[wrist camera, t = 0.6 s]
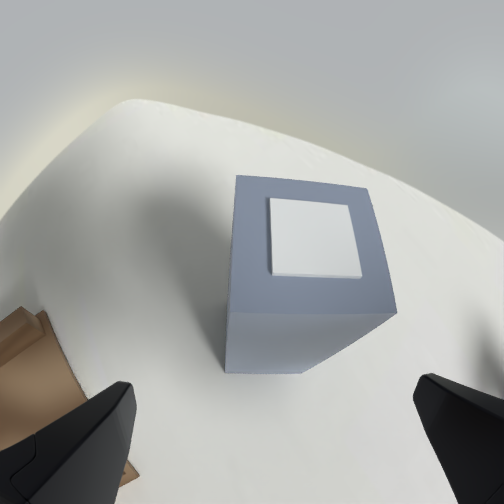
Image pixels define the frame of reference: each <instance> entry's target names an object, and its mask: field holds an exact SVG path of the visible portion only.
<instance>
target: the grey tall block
mask: <svg viewBox="0 0 504 504" xmlns="http://www.w3.org/2000/svg"><path fill="white" fill-rule="evenodd" d="M395 314H397V309H396V303H395V298H394V292H393V287H392V283H391V278H390V273H389V269H388V264H387V260H386V255H385V251H384V247H383V243H382V239H381V235H380V232H379V228H378V224H377V220H376V217H375V213H374V210H373V206H372V203H371V200H370V196H369V193H368V190H367V189H366V188H359V187H352V186H344V185H337V184H329V183H320V182H311V181H302V180H292V179H281V178H270V177H257V176H243V175H236V186H235V199H234V212H233V225H232V239H231V253H230V268H229V284H228V300H227V324H226V352H225V373H245V374H297V373H303V372H305V371H307V370H308V369H310V368H312V367H314V366H315V365H317V364H319V363H321V362H322V361H324V360H326V359H327V358H329V357H331V356H333V355H334V354H336V353H337V352H339V351H341V350H342V349H344V348H346V347H347V346H349V345H350V344H352V343H354V342H355V341H357V340H358V339H360V338H361V337H363V336H364V335H366V334H367V333H369V332H370V331H372V330H373V329H375V328H376V327H378V326H379V325H381V324H382V323H384V322H385V321H387V320H388V319H389V318H391V317H392V316H394V315H395Z"/></svg>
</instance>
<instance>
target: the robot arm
mask: <svg viewBox="0 0 504 504" xmlns="http://www.w3.org/2000/svg"><path fill="white" fill-rule="evenodd" d="M413 401H414V404H415V406H416V409H417V411H418V414H419V416H420V419H421V422H422V424H423V427H424V430H425V432H426V435H427V437H428V439H429V441H430V443H431V445H432V447H433V449H434V451H435V453H436V455H437V457H438V460H439V462H440V464H441V466H442V468H443V470H444V472H445V475H446V477H447V479H448V481H449V483H450V486H451V488H452V490H453V493H454V495H455V497H456V500H457V502H458V504H504V400H503V399H500V398H497V397H494V396H491V395H489V394H486V393H483V392H480V391H478V390H475V389H472V388H470V387H467V386H464V385H462V384H459V383H456V382H454V381H451V380H449V379H446V378H443V377H441V376H438V375H436V374H433V373H429V374H424V375H422V376H421V377H420V378H419V381H418V383H417V386H416V388H415V391H414V394H413ZM136 410H137V405H136V400H135V395H134V389H133V386H132V384H131V383H129V382H122V381H118V382H116V383H114V384H113V385H111V386H110V387H108V388H106V389H105V390H103V391H102V392H100V393H99V394H97V395H95V396H94V397H92V398H91V399H89V400H87V401H86V402H84V403H83V404H81V405H79V406H78V407H76V408H75V409H73V410H71V411H70V412H68V413H67V414H65V415H63V416H62V417H60V418H58V419H57V420H55V421H53V422H52V423H50V424H48V425H47V426H45V427H43V428H42V429H40V430H38V431H37V432H35V434H32V435H30V436H28V437H26V438H25V439H23V440H21V441H19V442H17V443H16V444H14V445H12V446H10V447H8V448H5V449H3V450H1V451H0V504H114V503H115V499H116V496H117V492H118V488H119V485H120V482H121V478H122V475H123V471H124V468H125V465H126V461H127V458H128V454H129V449H130V444H131V438H132V432H133V427H134V421H135V416H136Z"/></svg>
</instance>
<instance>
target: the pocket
mask: <svg viewBox="0 0 504 504" xmlns="http://www.w3.org/2000/svg"><path fill="white" fill-rule="evenodd" d="M86 401H87V398H86V396H85V394H84V393H83V391H82V389H81V387H80V385H79V384H78V382H77V380H76V378H75V376H74V374H73V372H72V370H71V368H70V366H69V364H68V362H67V360H66V358H65V356H64V354H63V352H62V349H61V347H60V345H59V343H58V341H57V338H56V336H55V334H54V331H53V329H52V327H51V324H50V322H49V319H48V317H47V314H46V312H45V311H44V310H42V311H41V312H40V313H38V314H37V315H35V316H34V315H33V314H31V313H30V312H28V311H27V310H26V309H24V308H23V307H22V306H21V307H19V308H18V309H17V310H15V311H14V312H13V313H11V314H10V315H9V316H7V317H6V318H5V319H3V320H2V321H1V322H0V451H1V450H3V449H5V448H8V447H10V446H12V445H14V444H16V443H17V442H19V441H21V440H23V439H25V438H26V437H28V436H30V435H32V434H35V432H37V431H38V430H40V429H42V428H43V427H45V426H47V425H48V424H50V423H52V422H53V421H55V420H57V419H58V418H60V417H62V416H63V415H65V414H67V413H68V412H70V411H71V410H73V409H75V408H76V407H78V406H79V405H81V404H83V403H84V402H86ZM139 476H140V475H139V474H138V473H137V472H136V470H135V469H134V468H133V467H132V465H131V464H130V463H129V461H128V460H127V461H126V465H125V468H124V471H123V475H122V478H121V482H120V485H119V487H121V486H123V485H125V484H127V483H129V482H130V481H132V480H134V479H136V478H138V477H139Z"/></svg>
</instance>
